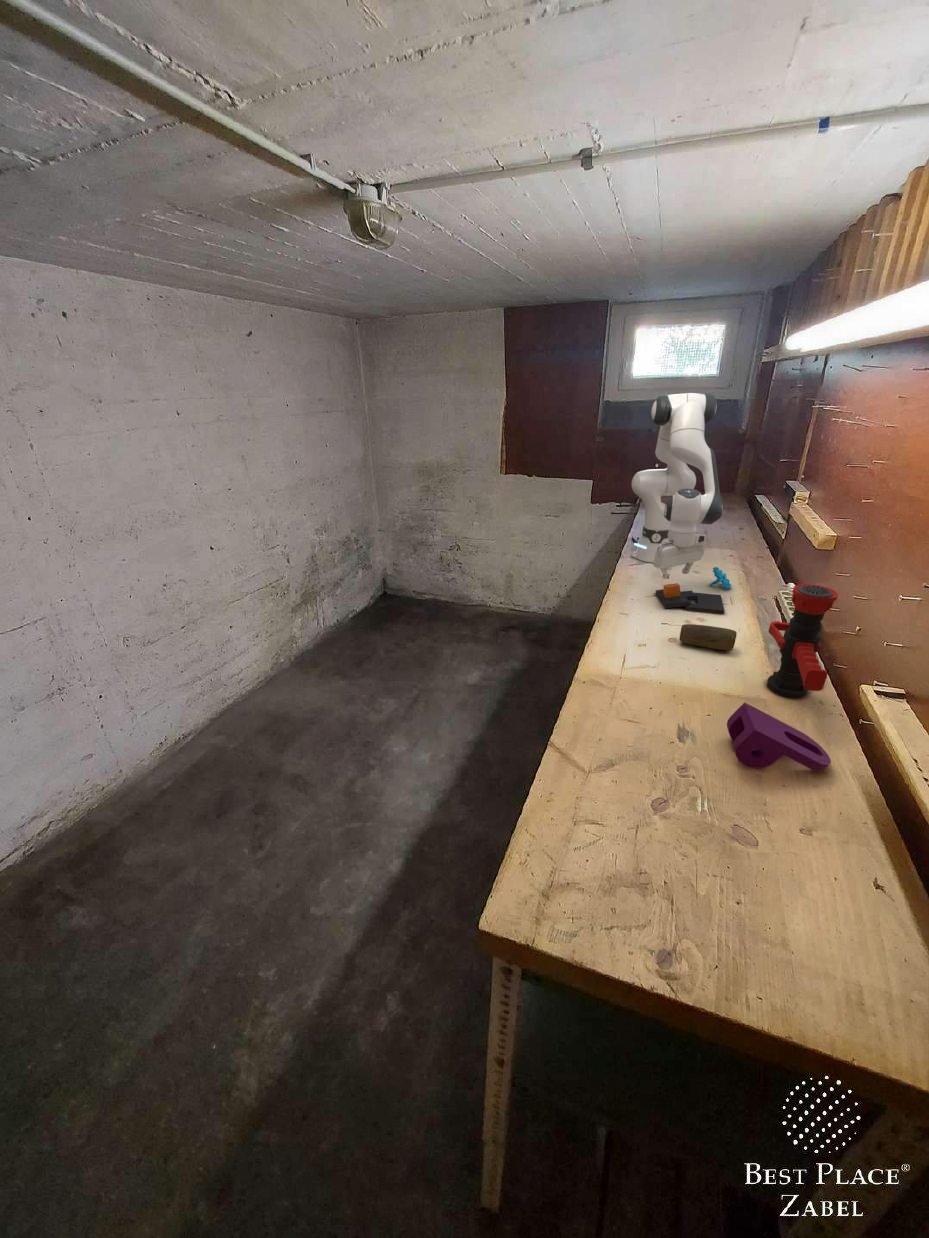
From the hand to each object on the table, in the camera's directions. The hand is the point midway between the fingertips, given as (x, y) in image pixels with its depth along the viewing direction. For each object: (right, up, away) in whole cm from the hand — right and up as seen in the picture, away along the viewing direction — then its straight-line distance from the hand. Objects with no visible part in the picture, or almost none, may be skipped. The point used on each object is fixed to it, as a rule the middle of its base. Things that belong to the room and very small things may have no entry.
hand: (675, 576), depth 171 cm
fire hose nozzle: (+7, -34, -48) cm, 60 cm away
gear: (+23, -3, +14) cm, 28 cm away
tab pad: (+2, -8, +3) cm, 9 cm away
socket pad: (+10, -10, +1) cm, 14 cm away
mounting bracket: (-9, -45, -69) cm, 82 cm away
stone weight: (-2, -24, -26) cm, 35 cm away
